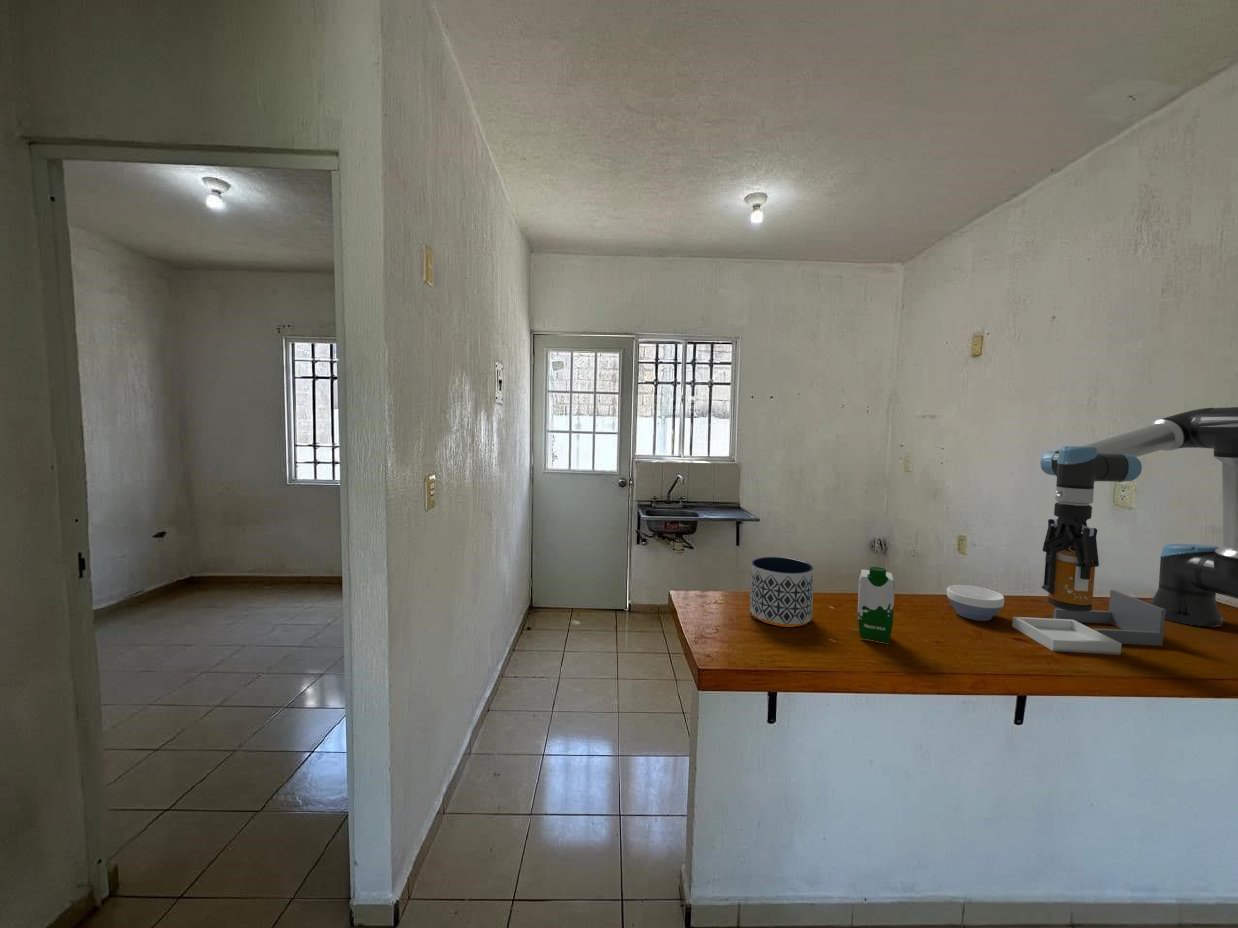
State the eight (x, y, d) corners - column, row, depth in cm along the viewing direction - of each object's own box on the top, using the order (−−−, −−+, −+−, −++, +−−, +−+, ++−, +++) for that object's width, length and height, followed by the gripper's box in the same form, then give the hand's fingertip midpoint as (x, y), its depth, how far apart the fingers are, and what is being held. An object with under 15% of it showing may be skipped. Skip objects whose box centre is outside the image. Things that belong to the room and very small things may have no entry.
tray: (1072, 629, 144) (1073, 619, 144) (1120, 654, 128) (1121, 643, 128) (1012, 626, 146) (1012, 616, 146) (1052, 650, 130) (1053, 639, 130)
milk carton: (856, 640, 136) (859, 569, 134) (856, 628, 144) (859, 561, 142) (893, 646, 132) (897, 573, 130) (890, 634, 140) (894, 564, 139)
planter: (769, 602, 165) (770, 553, 164) (822, 617, 152) (824, 565, 151) (738, 616, 153) (739, 563, 152) (793, 634, 140) (794, 577, 139)
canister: (1100, 615, 131) (1106, 540, 129) (1052, 611, 133) (1057, 538, 132) (1076, 603, 140) (1082, 533, 138) (1031, 600, 142) (1036, 531, 140)
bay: (1111, 622, 149) (1114, 590, 149) (1162, 645, 134) (1165, 609, 133) (1053, 619, 151) (1055, 587, 151) (1096, 642, 136) (1099, 606, 135)
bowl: (951, 620, 150) (953, 596, 150) (941, 605, 164) (942, 582, 163) (1010, 628, 145) (1012, 603, 144) (994, 611, 158) (995, 588, 158)
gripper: (1030, 497, 145) (1024, 572, 147) (1090, 509, 124) (1083, 597, 126) (1058, 497, 144) (1052, 573, 146) (1124, 510, 123) (1116, 598, 125)
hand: (1066, 584), depth 136 cm, fingers closed on canister, 9 cm apart
